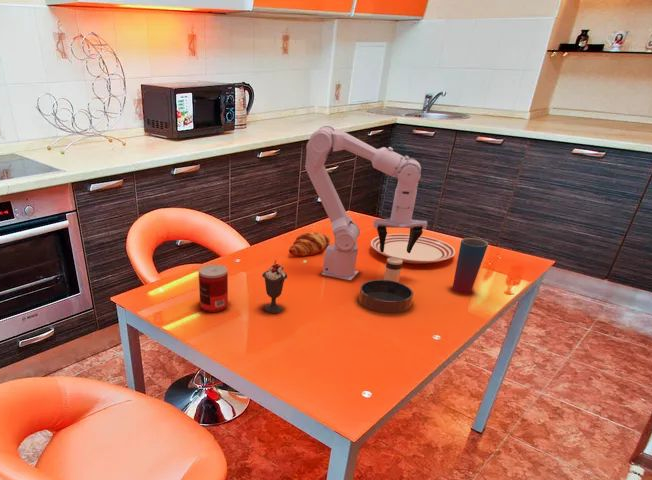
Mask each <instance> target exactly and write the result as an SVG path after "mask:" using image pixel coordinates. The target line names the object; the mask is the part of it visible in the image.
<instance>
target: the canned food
mask: <svg viewBox="0 0 652 480" xmlns="http://www.w3.org/2000/svg"><path fill="white" fill-rule="evenodd" d="M228 278H229V274H228V268H227V267H226V266H225V265H222V264H206V265H203V266H201V267H200V268H199V269H198V287H199V305H200V308H201V310H203V311H205V312H206V313H207V312H208V313H219V312H222V311H224V310H226V308H227V307H228V303H229V288H228V287H229V283H228V282H229V279H228Z"/></svg>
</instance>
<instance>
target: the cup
mask: <svg viewBox="0 0 652 480" xmlns="http://www.w3.org/2000/svg"><path fill="white" fill-rule="evenodd" d="M488 246H489V242H488V241H486V240H484V239H482V238H477V237H465V238H462V239H461V240H460V245H459V251H458V256H457V260H456V261H457V262H456V267H455V272H454V278H453V283H452V288H451V289H452V291H454V292H455V293H458V294H462V295H463V294H465V295H467V294H470V293H472V290H473V288H474V285H475V282H476V280H477V277H478V274H479V271H480V269H481V265H482V263H483V260H484V257H485V254H486V253H487V249H488Z"/></svg>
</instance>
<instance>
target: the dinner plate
mask: <svg viewBox="0 0 652 480" xmlns="http://www.w3.org/2000/svg"><path fill="white" fill-rule="evenodd" d="M409 235H410V233H389V234H388V233H387V235H386V239H385V245H384V252H381V251H380V239H379V235H377V236H376V237H374V238H372V239H371V240H370V246H371V248H372V249H373V250H374V251H375V252H377V253H379V254H380V255H382V256H384V257H386V258H390V257H397V258H400V259H402V260H403V263H406V264H412V265H413V264H415V265H422V264H423V265H425V264H432V263H439V262H444V261H447V260H449V259H451V258H453V257H454V256H455V255H456V249H455V248H454V247H453V246H452V245H450V244H449V243H448V242H446V241H443V240H440V239H437V238H433V237H430V236H425V235H421V236H420V237H419V238H418V240H417V241H416V242H415V244H414V246H413V248H412V250H411V252H410V253H408V252H407V245H408V241H409Z"/></svg>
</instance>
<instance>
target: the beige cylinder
mask: <svg viewBox="0 0 652 480" xmlns="http://www.w3.org/2000/svg"><path fill="white" fill-rule="evenodd" d="M403 265H404V262H403V260H402V259H400V258H397V257H390V258H389V257H387V259H386V263H385V269H384V274H383V280H390V281H395V282H399V283H400V278H401V272H402V268H403Z"/></svg>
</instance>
